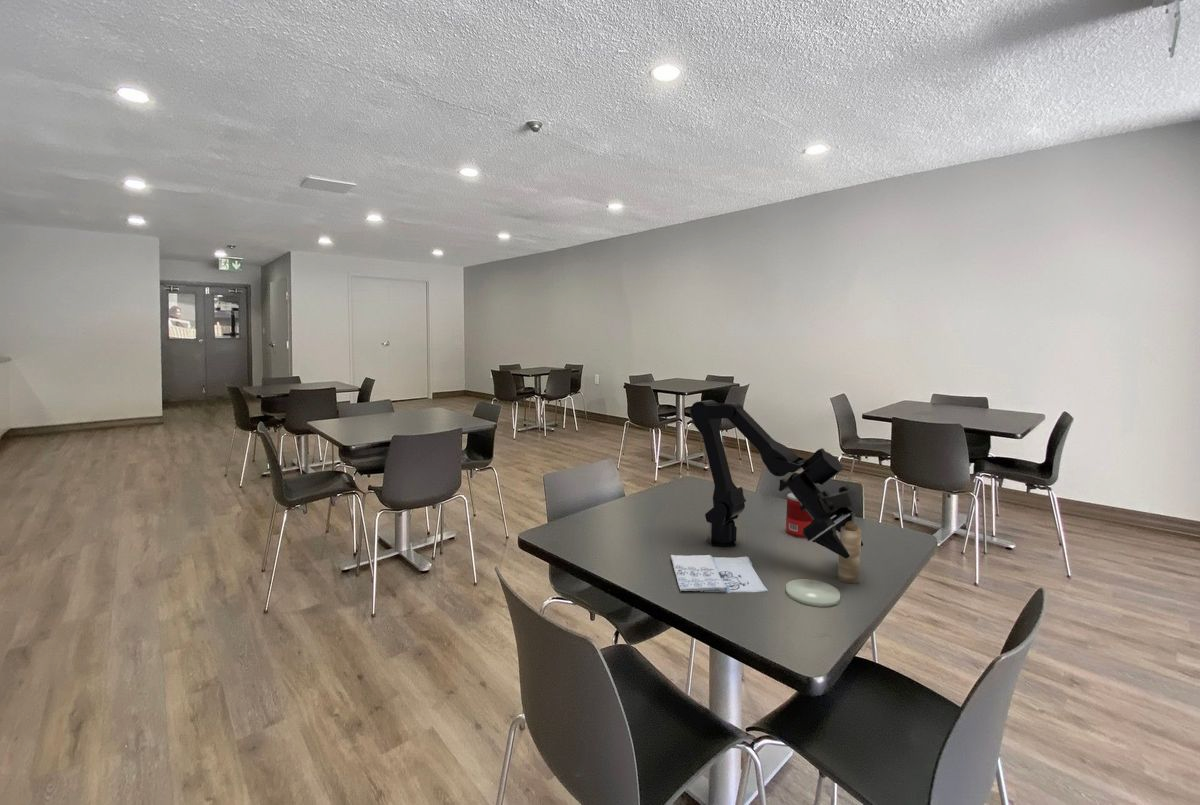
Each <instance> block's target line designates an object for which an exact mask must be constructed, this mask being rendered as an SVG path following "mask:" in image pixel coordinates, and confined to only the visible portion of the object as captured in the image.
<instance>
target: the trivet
mask: <svg viewBox="0 0 1200 805" xmlns="http://www.w3.org/2000/svg"><path fill="white" fill-rule="evenodd" d="M785 593H786V595H787V596H788V597H789V598H790V599H792V600H794V602H797V603H800V604H802V605H807V606H811V607H819V608H826V607H827V608H828V607H829V608H830V607H833V605H834V606H835V605H836V606H837V604H839V603H840V602H841V593H840V591H839V590H838V588H836V587H834V586H833V585H831V584H829V583H827V582H824V581H821V580H815V579H809V578H798V579H793V580H790V581H787V583H786V584H785Z"/></svg>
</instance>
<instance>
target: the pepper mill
mask: <svg viewBox="0 0 1200 805" xmlns="http://www.w3.org/2000/svg"><path fill="white" fill-rule="evenodd" d="M862 532H863V530H862V529H861V528H858V524H857V523H856V522H855V521H854V522H853V521H848V522H847V523H846V524H845V526H843V527H841V529H840V533H839V534H840V535H839V539H840V541H841V542H842V544H843V545H844V547H845V548H846V550H847V552H848V553H849V555H850V557H848V558H847V559H845V558H844V557H842V556H840V555H838V564H837V565H838V567H837V571H838V572H837V580H838V581H840V582H843V583H846V584H858V583H859V581H860V568H861V566H860V564H861V550H862V546H861V540H862V535H863V534H862Z"/></svg>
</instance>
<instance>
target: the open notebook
mask: <svg viewBox="0 0 1200 805" xmlns="http://www.w3.org/2000/svg"><path fill="white" fill-rule="evenodd" d="M670 559H671V562H672V567H673V570H674V573H675V578H676V580H677V585H678V587H679V590H680V592H681V591H700V592H699V593H726V594H732V593H753V594H754V593H759V594H760V593H768V591H769V589H767V588H766V586H765V585H764V584H763V582H762V580H761V578H760V576H759V574H757V571H755V569H754V567H753V563H752V561H751V560H750V558H749V556H739V557H721V556H720V557H713V556H712V555H711V554H705V555H701V554H700V555H699V554H698V555H695V554H692V555H683V554H681V555H680V554H679V555H678V554H677V555H675V554H671V555H670ZM721 575H723V576H722V577H721ZM703 591H704V592H703Z"/></svg>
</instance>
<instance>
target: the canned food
mask: <svg viewBox="0 0 1200 805" xmlns="http://www.w3.org/2000/svg"><path fill="white" fill-rule="evenodd" d="M786 498H787V499H786V517H785V518H786V519H785V520H786V523H785V531H786V533H787V534H788V535H790V536H792V537H795V538H802V539H803V538H804V539H806V538H805V536H804V535H803V529H804V528H805V527H806V526H808V525H809V524H811V522H812V521H813V519H812V517H811V516H810V515H809V514H808V512H807V511H806V510H803V511H802V510H801V509H800V508H799V507H801V506H802V505H801V504H800V502H799V501H798V500H797V499H796V497H795V496H794V495H793V494H792V492H790V493H788V494H787V496H786Z"/></svg>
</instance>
